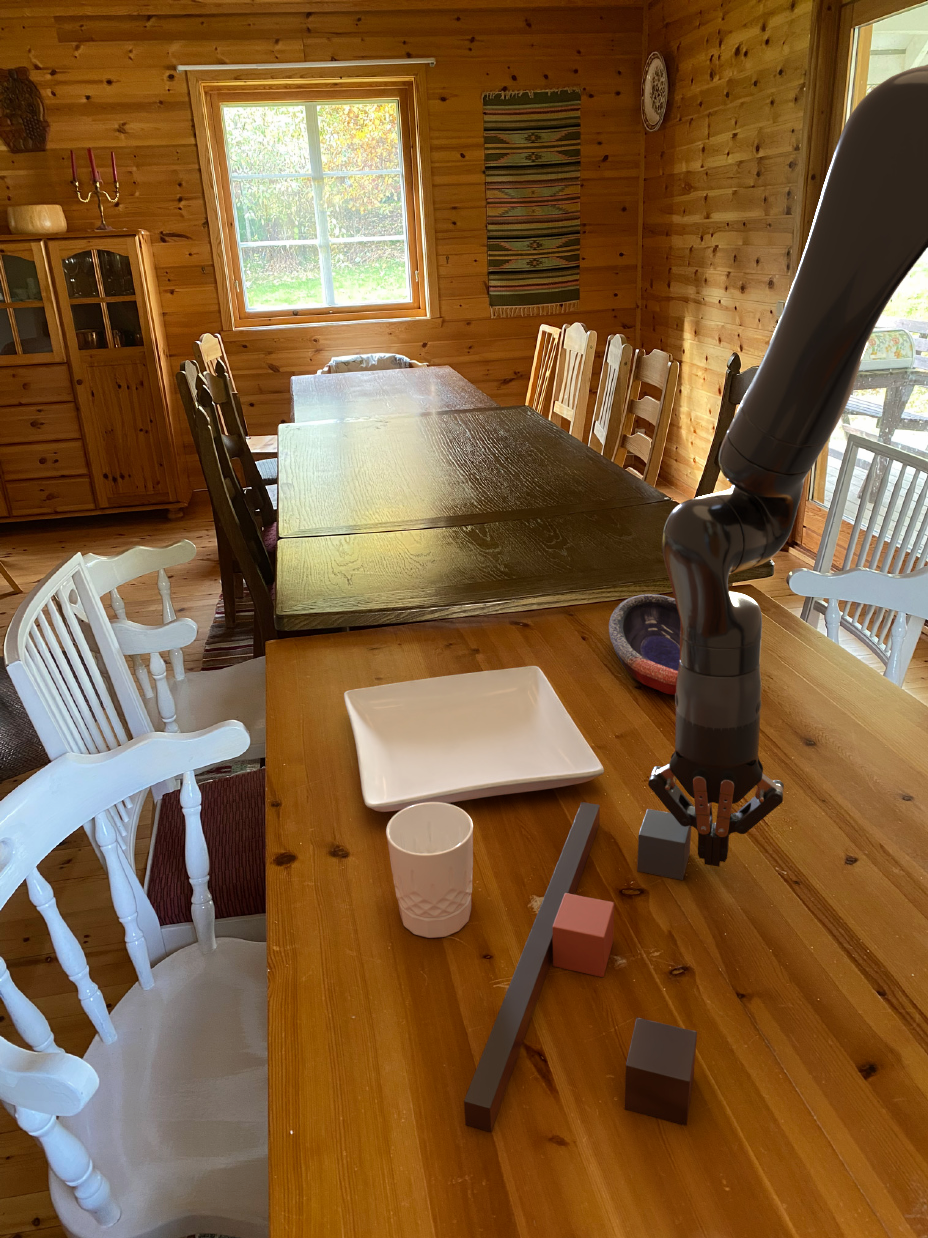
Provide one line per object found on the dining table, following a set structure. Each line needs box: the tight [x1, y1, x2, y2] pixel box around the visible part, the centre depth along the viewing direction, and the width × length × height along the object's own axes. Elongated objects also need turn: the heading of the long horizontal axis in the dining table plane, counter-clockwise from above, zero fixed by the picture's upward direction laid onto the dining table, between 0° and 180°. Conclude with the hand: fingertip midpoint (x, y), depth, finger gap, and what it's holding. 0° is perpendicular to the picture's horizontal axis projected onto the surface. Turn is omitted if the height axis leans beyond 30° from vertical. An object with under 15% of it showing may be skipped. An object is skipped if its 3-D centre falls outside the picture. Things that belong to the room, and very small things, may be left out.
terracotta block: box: [552, 893, 615, 978], centre depth 81 cm, size 4×4×4 cm
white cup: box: [385, 802, 474, 939], centre depth 85 cm, size 8×8×10 cm
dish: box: [608, 593, 680, 696], centre depth 132 cm, size 16×31×5 cm, turn 179°
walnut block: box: [623, 1017, 698, 1126], centre depth 68 cm, size 4×4×4 cm
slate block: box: [636, 808, 692, 881], centre depth 92 cm, size 4×4×4 cm
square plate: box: [343, 665, 605, 813], centre depth 112 cm, size 27×27×4 cm
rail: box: [463, 801, 601, 1133], centre depth 82 cm, size 2×38×2 cm, turn 160°
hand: (712, 860), depth 90 cm, fingers closed
